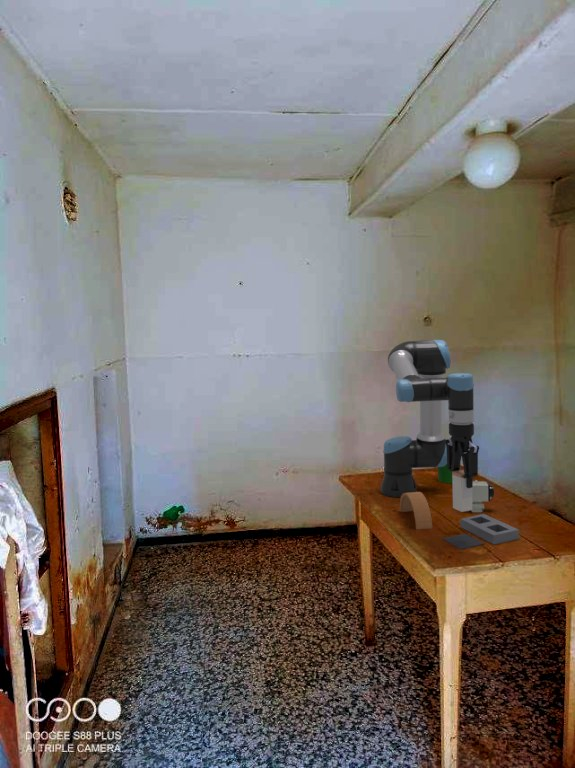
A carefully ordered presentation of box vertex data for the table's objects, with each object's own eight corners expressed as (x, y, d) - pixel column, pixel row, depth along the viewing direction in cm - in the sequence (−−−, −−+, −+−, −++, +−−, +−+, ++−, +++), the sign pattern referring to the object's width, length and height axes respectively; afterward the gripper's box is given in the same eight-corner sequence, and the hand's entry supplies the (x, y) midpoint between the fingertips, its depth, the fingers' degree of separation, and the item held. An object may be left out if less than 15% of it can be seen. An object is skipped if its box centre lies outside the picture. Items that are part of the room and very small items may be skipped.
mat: (442, 540, 165) (442, 538, 165) (465, 535, 168) (465, 533, 168) (460, 551, 156) (460, 548, 156) (484, 545, 159) (484, 543, 159)
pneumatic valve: (494, 514, 186) (494, 482, 184) (461, 513, 188) (460, 481, 187) (491, 508, 191) (491, 477, 190) (459, 508, 193) (458, 477, 192)
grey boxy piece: (460, 528, 174) (460, 518, 173) (484, 523, 177) (483, 513, 177) (494, 546, 159) (493, 535, 158) (518, 540, 162) (518, 529, 162)
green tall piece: (448, 476, 235) (447, 434, 233) (465, 479, 228) (464, 436, 226) (435, 481, 229) (434, 437, 227) (452, 484, 222) (452, 440, 220)
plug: (452, 507, 162) (452, 471, 161) (463, 505, 164) (463, 469, 162) (461, 512, 158) (460, 474, 157) (472, 509, 160) (471, 472, 158)
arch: (414, 510, 194) (413, 485, 193) (432, 530, 174) (431, 502, 173) (399, 511, 194) (398, 486, 193) (416, 531, 174) (415, 503, 173)
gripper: (434, 420, 165) (435, 489, 167) (470, 428, 149) (471, 505, 151) (453, 417, 168) (454, 486, 170) (490, 425, 151) (491, 501, 154)
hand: (462, 494), depth 160 cm, fingers closed on plug, 4 cm apart
